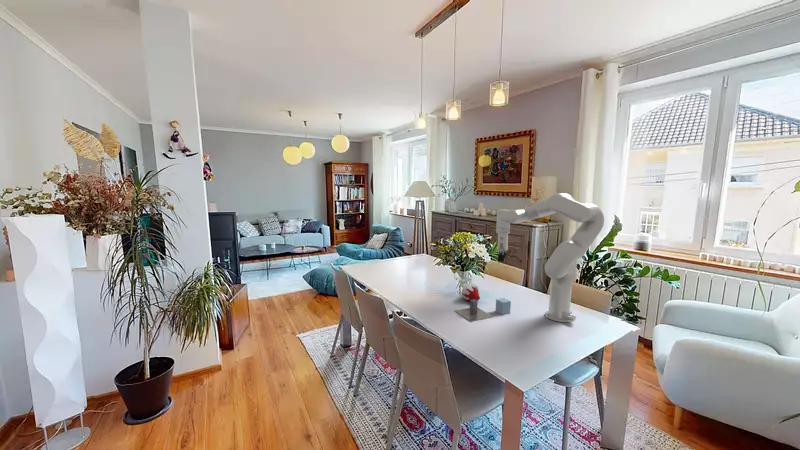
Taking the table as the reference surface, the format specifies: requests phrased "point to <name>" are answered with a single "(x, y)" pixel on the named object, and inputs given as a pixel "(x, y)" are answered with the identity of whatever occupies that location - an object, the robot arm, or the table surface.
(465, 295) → the red white rounded piece
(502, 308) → the blue-grey rectangular block
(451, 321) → the table surface
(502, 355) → the table surface
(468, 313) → the square pedestal stand
